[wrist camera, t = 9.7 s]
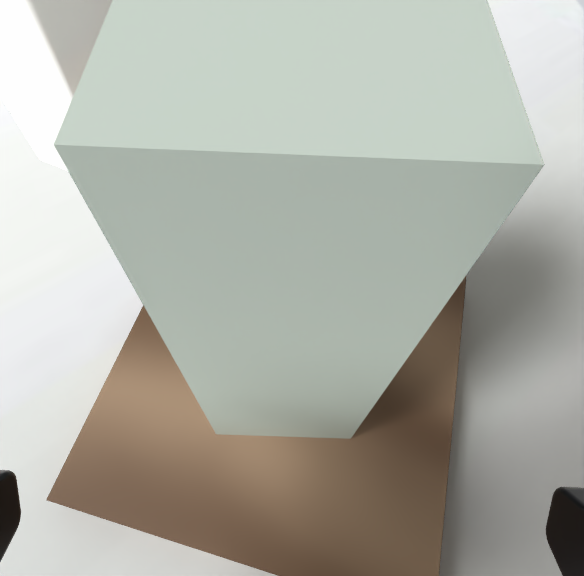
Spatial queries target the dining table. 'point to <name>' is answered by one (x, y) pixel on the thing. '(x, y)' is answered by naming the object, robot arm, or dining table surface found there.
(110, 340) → the dining table surface
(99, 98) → the pale green square post
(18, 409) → the dining table surface
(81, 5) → the jar
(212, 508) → the plate
